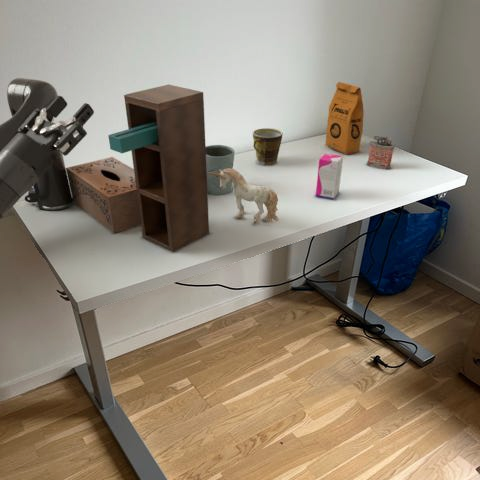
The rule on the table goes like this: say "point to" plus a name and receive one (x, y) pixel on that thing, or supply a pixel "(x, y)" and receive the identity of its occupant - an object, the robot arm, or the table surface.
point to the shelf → (171, 165)
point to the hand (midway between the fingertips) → (76, 103)
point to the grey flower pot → (218, 167)
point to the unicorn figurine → (249, 194)
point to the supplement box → (329, 176)
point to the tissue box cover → (106, 192)
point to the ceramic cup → (267, 145)
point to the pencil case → (134, 138)
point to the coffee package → (345, 119)
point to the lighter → (380, 152)
